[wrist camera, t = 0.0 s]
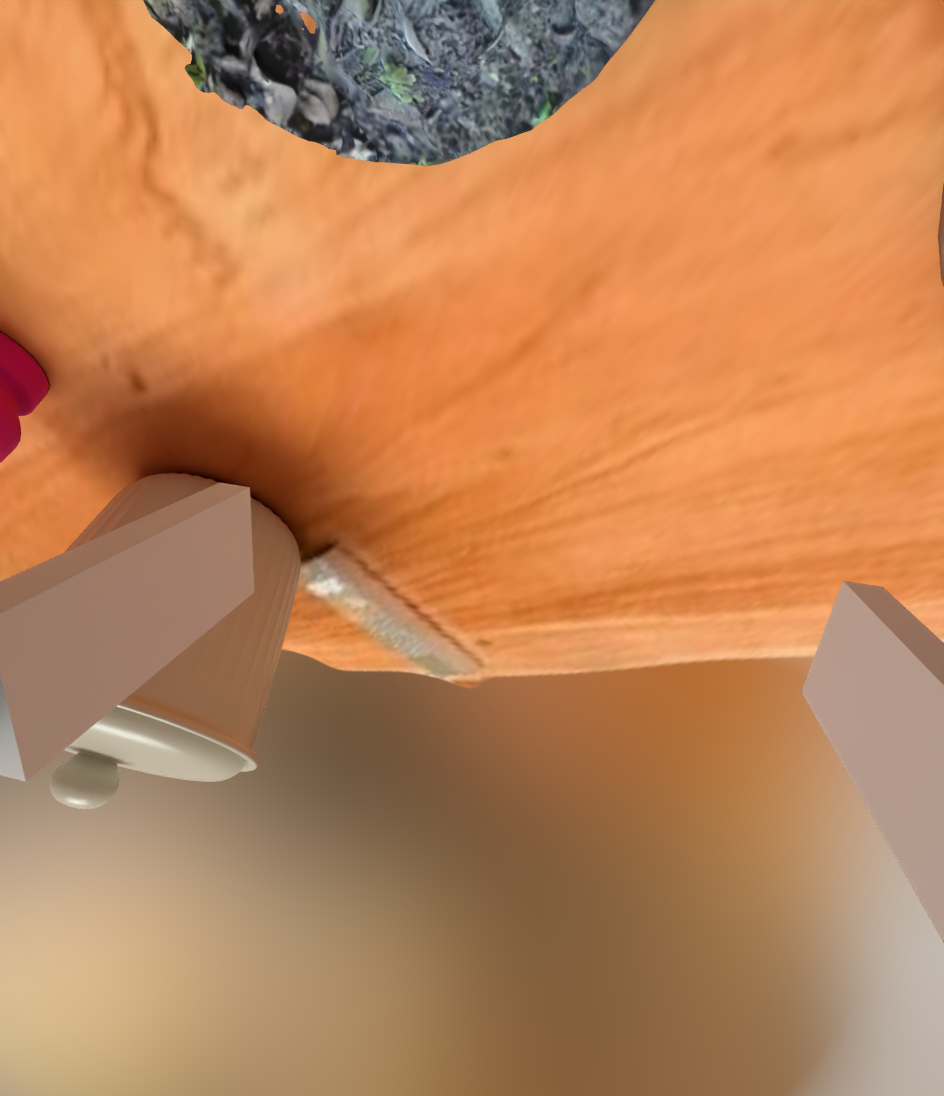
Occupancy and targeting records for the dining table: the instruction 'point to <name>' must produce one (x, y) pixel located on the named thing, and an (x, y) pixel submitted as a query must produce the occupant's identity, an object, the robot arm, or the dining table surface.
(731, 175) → the dining table surface
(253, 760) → the canister
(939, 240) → the stand
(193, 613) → the robot arm
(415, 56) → the tree stump
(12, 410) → the pepper mill
